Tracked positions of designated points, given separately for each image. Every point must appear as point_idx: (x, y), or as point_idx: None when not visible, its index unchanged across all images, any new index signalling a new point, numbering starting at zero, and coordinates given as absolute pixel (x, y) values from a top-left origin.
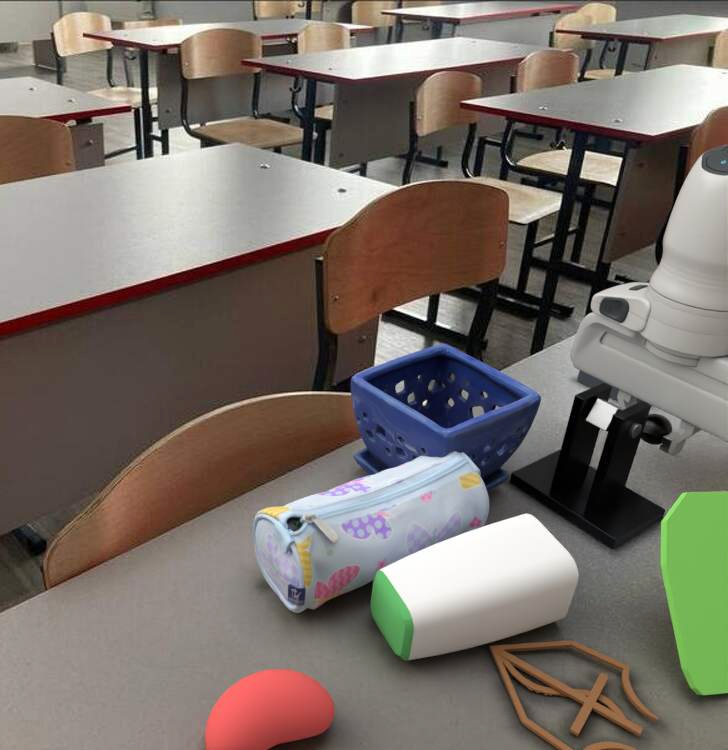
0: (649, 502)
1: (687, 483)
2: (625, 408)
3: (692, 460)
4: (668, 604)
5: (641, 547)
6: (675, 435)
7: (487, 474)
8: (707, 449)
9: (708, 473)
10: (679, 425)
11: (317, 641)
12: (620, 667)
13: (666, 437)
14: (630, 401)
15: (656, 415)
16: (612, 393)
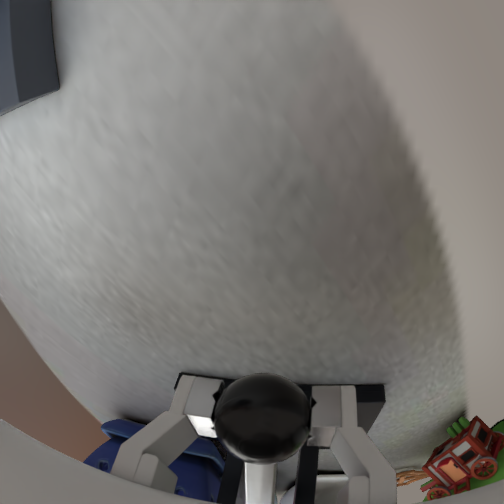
0: (358, 406)
1: (379, 281)
2: (178, 454)
3: (336, 173)
4: (425, 497)
5: (381, 420)
6: (327, 433)
7: (213, 474)
8: (326, 65)
9: (399, 199)
10: (337, 497)
11: (279, 495)
12: (409, 473)
13: (315, 445)
14: (161, 454)
15: (247, 461)
16: (4, 113)
